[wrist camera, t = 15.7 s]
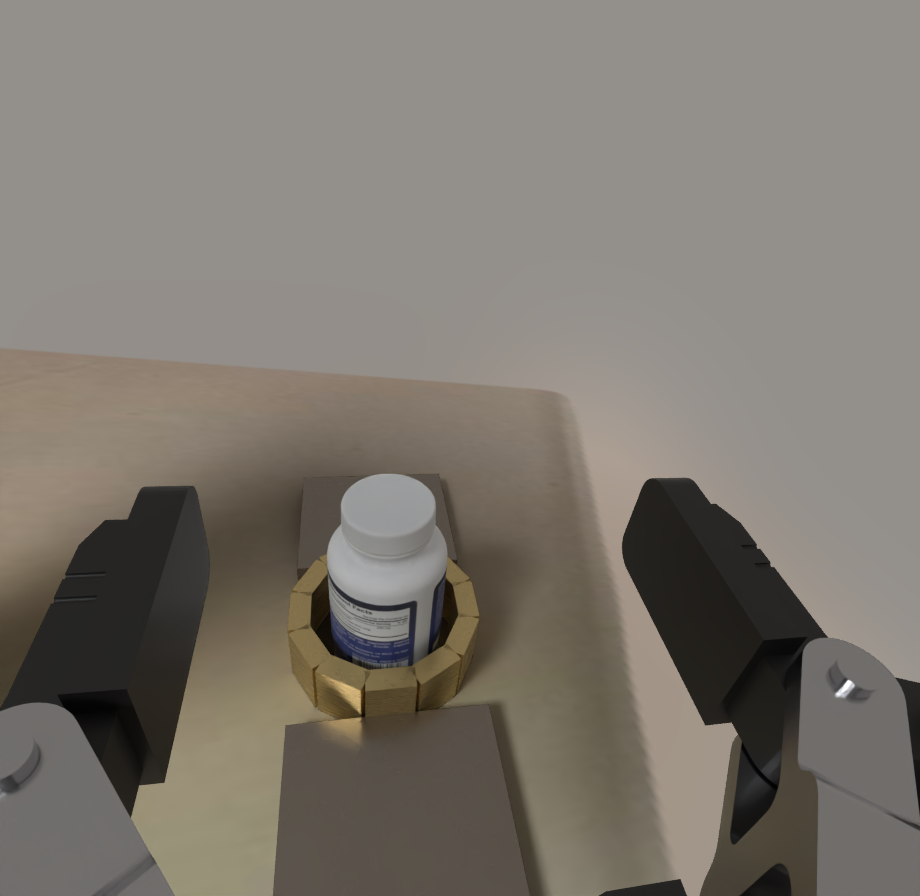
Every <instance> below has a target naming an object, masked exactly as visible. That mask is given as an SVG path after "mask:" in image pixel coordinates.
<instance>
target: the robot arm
mask: <svg viewBox="0 0 920 896" xmlns="http://www.w3.org/2000/svg"><path fill="white" fill-rule="evenodd" d="M756 546H757V544H756V543H755V541H754V540H753V539H752V538H751V536H750V535H749V534H748V532H747V531H746V530H745V529H744V527H743V526H742V524H741V523H740V522H739V521H737V520H736V519H735V518H733V517H732V516H731V515H730V514H728V513H727V512H726V511H724V510H723V509H722V508H721V507H719V506H718V505H717V504H710V502H709V501H708V499H707V498H706V497H705V495H704V494H703V493H702V491H701V490H700V489H699V487H698V486H697V484H696V483H695V482H694V481H693V480H691V479H689V478H652V479H649V480H647V481H646V482H645V483H644V485H643V487H642V489H641V492H640V494H639V497H638V500H637V502H636V505H635V507H634V510H633V513H632V515H631V518H630V520H629V523H628V525H627V528H626V531H625V533H624V536H623V542H622V553H623V559H624V563H625V566H626V568H627V570H628V572H629V574H630V576H631V578H632V580H633V582H634V584H635V586H636V588H637V590H638V592H639V594H640V596H641V598H642V600H643V602H644V604H645V606H646V608H647V610H648V612H649V614H650V616H651V618H652V620H653V622H654V624H655V626H656V628H657V630H658V632H659V634H660V636H661V638H662V640H663V642H664V644H665V646H666V648H667V650H668V652H669V654H670V656H671V658H672V660H673V662H674V664H675V666H676V668H677V670H678V672H679V674H680V676H681V678H682V680H683V682H684V684H685V686H686V688H687V690H688V692H689V694H690V696H691V698H692V700H693V702H694V704H695V706H696V708H697V709H698V712H699V714H700V715H701V718H702V720H703V721H704V723H705V725H713V724H722V723H730V722H732V724H733V726H734V728H735V729H736V731H737V733H738V735H737V736H736V738H735V739H734V741H733V744H732V748H731V754H730V761H729V768H728V775H727V782H726V789H725V796H724V803H723V810H722V817H721V824H720V831H719V838H718V845H717V849H716V853H715V857H714V860H713V863H712V865H711V867H710V869H709V872H708V874H707V876H706V878H705V881H704V884H703V886H702V889H701V893H700V896H920V683H917V682H913V681H908V680H903V679H899V678H895V677H894V676H893V675H892V673H891V672H890V671H889V670H888V669H887V668H886V667H885V666H884V665H883V664H882V663H881V662H880V661H879V660H877V659H876V658H875V657H873V656H872V655H871V654H869V653H868V652H866V651H864V650H863V649H861V648H859V647H857V646H855V645H853V644H851V643H848V642H846V641H842V640H839V639H834V638H828V637H827V636H826V635H825V633H824V632H823V631H822V629H821V628H820V627H819V625H818V624H817V623H816V622H815V620H814V619H813V618H812V616H811V615H810V614H809V613H808V611H807V610H806V608H805V607H804V606H803V605H802V603H801V602H800V601H799V599H798V598H797V597H796V595H795V594H794V593H793V591H792V590H791V589H790V587H789V586H788V585H787V583H786V582H785V581H784V580H783V579H782V577H781V576H780V574H779V573H778V572H777V571H776V569H775V568H774V567H771V566H770V561H769V560H768V559H767V557H766V556H765V555H764V553H763V552H762V551H761V549H757V547H756ZM209 571H210V559H209V550H208V544H207V539H206V534H205V530H204V525H203V520H202V515H201V510H200V505H199V500H198V495H197V492H196V489H195V487H194V486H158V487H143V488H142V489H141V490H140V491H139V493H138V495H137V498H136V500H135V503H134V505H133V508H132V510H131V513H130V515H129V518H128V519H127V520H105V521H104V522H103V523H102V524H101V525H100V526H99V527H97V528H96V529H95V530H94V531H93V532H92V533H91V534H90V535H89V536H88V537H87V538H86V539H85V540H84V541H83V542H82V543H81V544H79V546H78V548H77V550H76V552H75V554H74V557H73V559H72V561H71V563H70V565H69V567H68V569H67V571H66V573H65V574H66V578H65V579H63V580H62V582H61V584H60V586H59V588H58V590H57V592H56V594H55V597H54V604H51V605H50V607H49V609H48V611H47V613H46V616H45V618H44V620H43V622H42V624H41V626H40V628H39V630H38V632H37V635H36V637H35V639H34V641H33V643H32V645H31V647H30V649H29V651H28V654H27V656H26V658H25V660H24V662H23V664H22V666H21V668H20V670H19V672H18V675H17V677H16V679H15V681H14V683H13V685H12V687H11V689H10V691H9V694H8V696H7V698H6V699H5V701H4V703H3V705H2V706H1V708H0V896H175V895H174V893H173V892H172V890H171V888H170V886H169V884H168V883H167V881H166V879H165V877H164V876H163V874H162V872H161V870H160V868H159V867H158V865H157V863H156V862H155V860H154V858H153V857H152V855H151V854H150V852H149V850H148V848H147V847H146V845H145V843H144V841H143V840H142V838H141V836H140V834H139V832H138V831H137V829H136V827H135V825H134V823H133V821H132V820H131V815H132V811H133V807H134V803H135V799H136V795H137V791H138V787H139V785H147V784H156V783H164V782H165V777H166V773H167V768H168V764H169V759H170V755H171V750H172V746H173V741H174V737H175V732H176V728H177V723H178V719H179V714H180V710H181V705H182V701H183V696H184V692H185V687H186V683H187V678H188V674H189V669H190V665H191V660H192V656H193V651H194V647H195V642H196V638H197V633H198V629H199V624H200V620H201V615H202V611H203V606H204V602H205V597H206V593H207V588H208V582H209ZM599 896H687V895H686V892H685V890H684V887H683V885H682V882H681V879H678V880H672V881H666V882H660V883H654V884H648V885H642V886H636V887H630V888H624V889H618V890H612V891H606V892H604V893H603V894H601V895H599Z"/></svg>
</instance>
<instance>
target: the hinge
mask: <svg viewBox="0 0 920 896" xmlns="http://www.w3.org/2000/svg"><path fill="white" fill-rule="evenodd" d="M405 476H408V477H411V478H414V479H416V480H418V481H420V482H421V483H423V484H424V485H425V486H426V487H427V488H428V489H429V490H430V491H431V492H432V494H433V496H434V498H435V502H436V516H435V521H436V523H435V525H436V526H437V527H438V528H439V530H440V531H441V533H442V535H443V537H444V539H445V542H446V546H447V571H446V580H445V590H444V599H443V608H442V616H443V617H444V618H445V620H446V621H447V622H448V625H449V631H450V634H449V636H448V638H447V641H446V643H445V645H444V646H442V647H440V648H439V649H437V650H436V651H434V652H433V653H431V654H429V655H428V656H426V657H425V658H423V659H422V660H420V661H418V662H417V663H415V664H414V665H412V666H406V667H395V668H384V669H373V670H367V669H365V668H362V667H360V666H357V665H355V664H353V663H350V662H348V661H345V660H343V659H340V658H338V657H335V656H333V655H330V653H329V652H328V650H327V649H326V647H325V646H324V645H323V643H322V642H321V640H320V639H319V638H318V636H317V635H316V633H315V631H316V630H317V629H318V627H319V626H320V624H321V623H322V622H323V620H324V619H325V617H326V616H327V614H328V613H329V612H330V599H329V585H328V570H327V550H328V545H329V542H330V539H331V537H332V535H333V534H334V532H335V531H336V529H337V528H338V527H339V526H340V525H341V501H342V499H343V496H344V494H345V493H346V491H347V490H348V489H349V488H350V487H351V486H352V485H353V484H355V483H356V482H358V481H359V480H362V479H364V478H366V477H369V476H347V477H313V478H304V485H303V498H302V512H301V525H300V539H299V552H298V565H297V571H298V581H299V582H298V583H297V584H296V585H295V587H294V588H293V589H292V593H291V594H290V606H289V619H288V639H289V647H290V655H291V663H292V669H293V673H294V675H295V676H296V678H297V680H298V681H299V683H300V684H301V686H302V687H303V689H304V690H305V692H306V694H307V695H308V697H309V698H310V700H311V701H312V703H313V705H314V706H315V707H316V706H318V710H320V711H322V712H324V713H327V714H329V715H331V716H334V717H336V718H338V719H341V720H332V721H322V722H313V723H303V724H294V725H286V727H285V741H284V754H283V768H282V781H281V795H280V808H279V822H278V835H277V849H276V862H275V875H274V889H273V896H530V893H529V888H528V884H527V879H526V874H525V870H524V865H523V860H522V856H521V851H520V847H519V842H518V837H517V833H516V828H515V823H514V819H513V814H512V810H511V805H510V800H509V796H508V791H507V787H506V782H505V777H504V773H503V768H502V763H501V759H500V754H499V750H498V745H497V740H496V736H495V731H494V727H493V722H492V717H491V713H490V708H489V704H484V705H475V706H465V707H456V708H446V709H437V708H439V707H440V706H442V705H443V704H444V703H446V702H447V701H449V700H450V699H451V698H453V697H454V696H455V693H458V691H459V688H460V686H461V683H462V681H463V679H464V676H465V674H466V671H467V669H468V667H469V664H470V662H471V659H472V657H473V652H474V646H475V640H476V635H477V629H478V623H479V612H478V607H477V603H476V599H475V594H474V590H473V586H472V582H471V581H469V580H470V578H469V577H468V576H467V575H466V574H465V573H464V572H463V571H462V570H461V569H460V568H459V567H458V566H457V556H456V551H455V546H454V542H453V537H452V533H451V528H450V523H449V519H448V514H447V510H446V505H445V500H444V496H443V491H442V486H441V482H440V477H439V474H415V475H405ZM436 709H437V710H436Z"/></svg>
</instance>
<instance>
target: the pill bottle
mask: <svg viewBox="0 0 920 896" xmlns="http://www.w3.org/2000/svg"><path fill="white" fill-rule="evenodd" d="M435 516H436V502H435V498H434V496H433V494H432V492H431V491H430V490H429V489H428V488H427V487H426V486H425V485H424V484H423V483H421V482H420V481H418V480H416V479H414V478H411V477H408V476H405V475H399V474H378V475H373V476H369V477H366V478H364V479H362V480H359V481H358V482H356V483H355V484H353V485H352V486H351V487H350V488H349V489H348V490H347V491H346V493H345V494H344V496H343V499H342V501H341V525H340V526H339V527H338V528H337V529H336V531H335V532H334V534H333V535H332V537H331V539H330V542H329V545H328V550H327V570H328V585H329V599H330V613H331V629H332V644H333V651H334V655H335V657H338V658H340V659H343V660H345V661H348V662H350V663H353V664H355V665H357V666H360V667H362V668H365V669H367V670H373V669H384V668H395V667H406V666H412V665H414V664H415V663H417V662H418V661H420V660H422V659H423V658H425V657H426V656H428V655H429V654H431V653H433V652H434V651H436V650H437V649H438V645H439V638H440V628H441V618H442V608H443V599H444V590H445V580H446V571H447V546H446V542H445V539H444V537H443V535H442V533H441V531H440V530H439V528H438V527H437V526H436V525H435V523H436V521H435Z"/></svg>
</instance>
